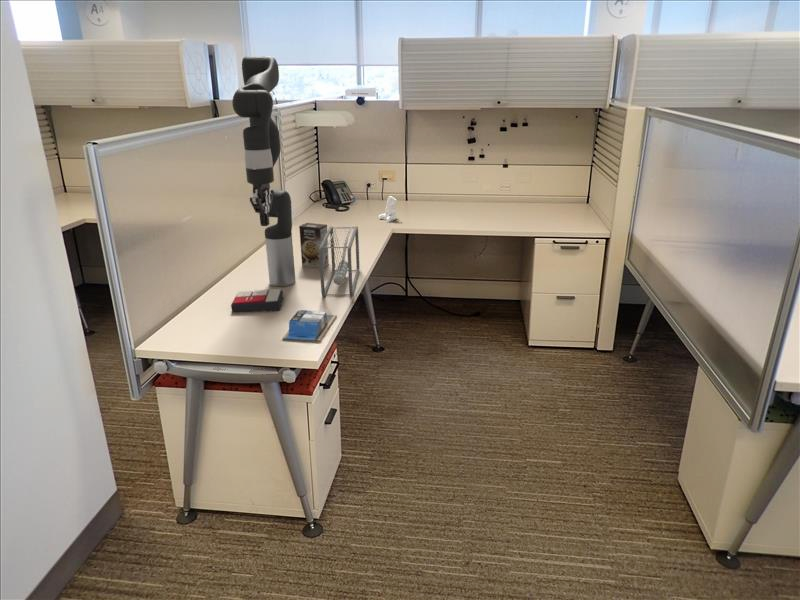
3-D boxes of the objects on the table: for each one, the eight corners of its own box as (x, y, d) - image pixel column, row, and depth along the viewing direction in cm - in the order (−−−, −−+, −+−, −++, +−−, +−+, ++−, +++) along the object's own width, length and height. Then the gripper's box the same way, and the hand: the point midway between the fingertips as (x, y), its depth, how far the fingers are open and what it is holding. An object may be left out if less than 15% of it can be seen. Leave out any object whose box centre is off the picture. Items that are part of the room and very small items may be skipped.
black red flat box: (236, 290, 191) (282, 287, 192) (239, 302, 192) (284, 299, 193) (230, 303, 181) (278, 299, 181) (232, 315, 182) (279, 311, 183)
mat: (302, 315, 179) (302, 313, 179) (336, 317, 178) (336, 315, 178) (282, 340, 163) (282, 337, 163) (319, 342, 161) (319, 340, 161)
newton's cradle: (332, 270, 220) (330, 224, 214) (359, 269, 220) (358, 224, 214) (321, 298, 192) (318, 248, 186) (352, 298, 192) (350, 247, 186)
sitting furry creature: (377, 218, 295) (376, 195, 291) (391, 216, 300) (390, 193, 296) (388, 222, 288) (387, 198, 284) (401, 219, 293) (401, 196, 288)
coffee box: (301, 266, 225) (298, 226, 219) (309, 261, 230) (306, 222, 224) (322, 268, 222) (319, 227, 216) (329, 263, 227) (327, 223, 221)
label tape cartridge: (326, 310, 171) (314, 327, 160) (327, 322, 172) (315, 340, 161) (298, 309, 172) (284, 326, 161) (299, 321, 174) (285, 338, 163)
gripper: (255, 161, 168) (261, 219, 175) (236, 168, 156) (243, 230, 163) (280, 162, 167) (285, 220, 174) (263, 169, 155) (269, 231, 162)
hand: (265, 225), depth 168 cm, fingers closed
